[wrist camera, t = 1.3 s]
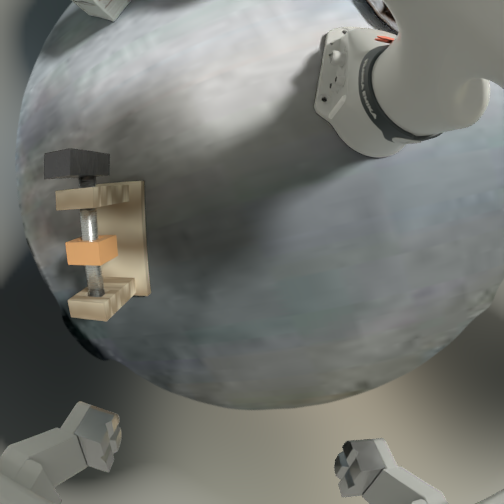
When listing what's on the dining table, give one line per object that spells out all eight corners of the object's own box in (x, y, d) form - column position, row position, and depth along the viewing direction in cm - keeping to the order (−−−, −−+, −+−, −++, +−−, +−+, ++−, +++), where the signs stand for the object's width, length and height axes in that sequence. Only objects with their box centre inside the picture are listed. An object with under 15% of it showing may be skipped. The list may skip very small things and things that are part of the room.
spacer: (85, 235, 40) (65, 242, 34) (116, 234, 40) (98, 242, 34) (87, 255, 40) (68, 264, 35) (118, 255, 40) (100, 265, 35)
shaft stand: (90, 184, 44) (44, 188, 32) (144, 180, 44) (106, 181, 32) (99, 290, 48) (61, 318, 36) (150, 292, 48) (120, 326, 36)
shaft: (86, 157, 37) (44, 153, 27) (109, 153, 37) (70, 148, 27) (97, 303, 42) (64, 332, 32) (120, 305, 42) (88, 335, 32)
